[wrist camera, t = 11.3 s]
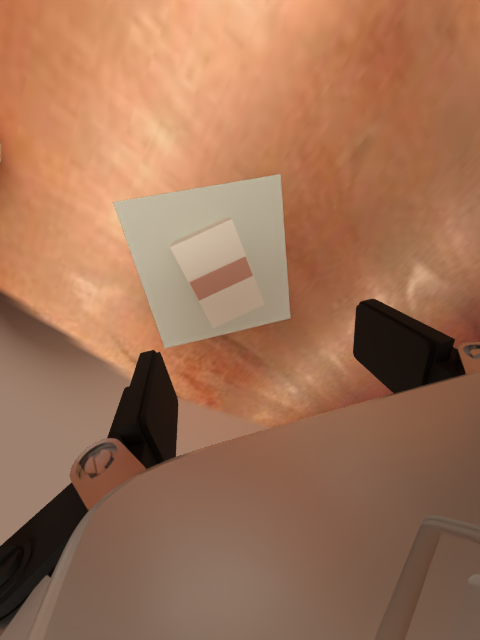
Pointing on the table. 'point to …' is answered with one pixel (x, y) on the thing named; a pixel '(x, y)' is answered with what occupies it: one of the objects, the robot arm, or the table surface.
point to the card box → (218, 271)
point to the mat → (189, 216)
